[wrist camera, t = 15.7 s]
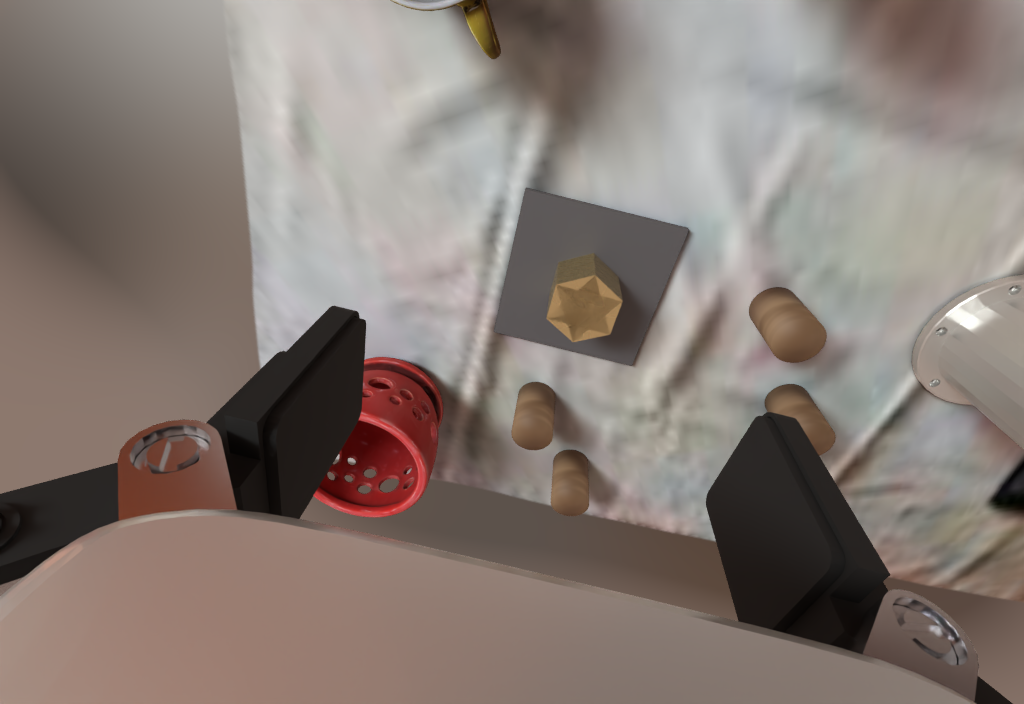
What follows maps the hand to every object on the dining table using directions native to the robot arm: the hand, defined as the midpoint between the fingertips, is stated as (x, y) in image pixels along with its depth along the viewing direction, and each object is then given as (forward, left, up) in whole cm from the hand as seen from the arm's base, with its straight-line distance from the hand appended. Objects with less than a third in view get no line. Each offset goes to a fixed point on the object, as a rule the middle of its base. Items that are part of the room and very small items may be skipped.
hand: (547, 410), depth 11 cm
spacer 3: (-21, +8, -32) cm, 39 cm away
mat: (-4, +10, -32) cm, 34 cm away
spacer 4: (-27, +17, -32) cm, 45 cm away
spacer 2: (-9, +32, -32) cm, 46 cm away
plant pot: (+12, +28, -33) cm, 45 cm away
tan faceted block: (-4, +10, -32) cm, 33 cm away
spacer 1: (-3, +24, -32) cm, 40 cm away
